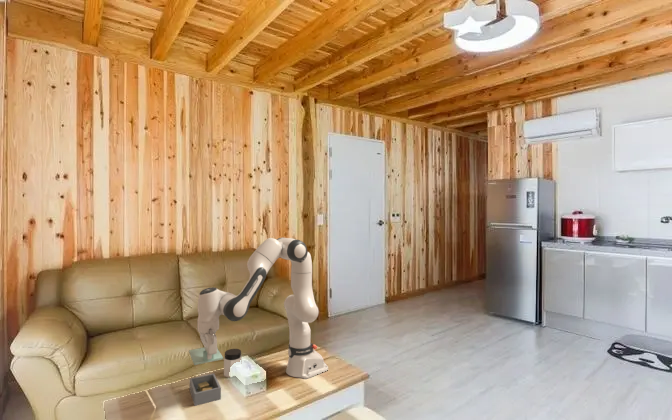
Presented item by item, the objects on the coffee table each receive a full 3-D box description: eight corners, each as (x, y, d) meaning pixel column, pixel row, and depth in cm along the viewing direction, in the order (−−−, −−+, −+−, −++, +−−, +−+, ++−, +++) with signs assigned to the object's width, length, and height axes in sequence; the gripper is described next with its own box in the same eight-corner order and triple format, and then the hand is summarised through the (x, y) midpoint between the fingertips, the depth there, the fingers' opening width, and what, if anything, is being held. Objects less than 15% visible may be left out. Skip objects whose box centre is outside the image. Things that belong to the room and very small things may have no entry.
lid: (215, 346, 171) (215, 337, 171) (223, 359, 157) (223, 349, 157) (188, 351, 165) (188, 342, 165) (194, 365, 151) (194, 355, 151)
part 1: (206, 387, 167) (206, 381, 167) (209, 391, 164) (209, 384, 164) (197, 390, 164) (197, 383, 164) (200, 394, 161) (200, 387, 161)
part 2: (212, 393, 162) (212, 387, 162) (211, 398, 158) (211, 391, 158) (202, 394, 161) (202, 388, 161) (201, 399, 157) (201, 393, 157)
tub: (213, 385, 170) (214, 373, 170) (220, 401, 157) (220, 387, 157) (189, 391, 165) (189, 378, 165) (194, 407, 152) (194, 394, 152)
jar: (226, 380, 175) (226, 356, 175) (221, 373, 182) (221, 350, 182) (243, 376, 180) (244, 352, 180) (238, 369, 187) (239, 347, 187)
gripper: (221, 332, 147) (221, 364, 148) (211, 317, 165) (211, 347, 165) (205, 334, 144) (205, 368, 145) (197, 319, 162) (197, 349, 162)
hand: (208, 356), depth 155 cm, fingers closed on lid, 2 cm apart
